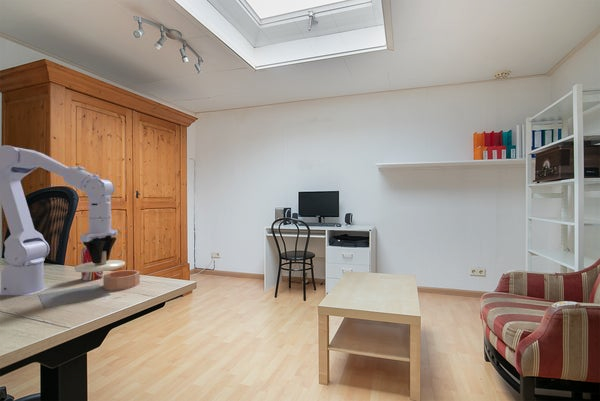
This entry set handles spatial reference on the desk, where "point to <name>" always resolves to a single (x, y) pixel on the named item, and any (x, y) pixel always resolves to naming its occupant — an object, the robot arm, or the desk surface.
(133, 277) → the bowl
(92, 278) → the beverage can
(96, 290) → the mat
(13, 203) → the robot arm
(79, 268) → the lid
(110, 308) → the desk surface
